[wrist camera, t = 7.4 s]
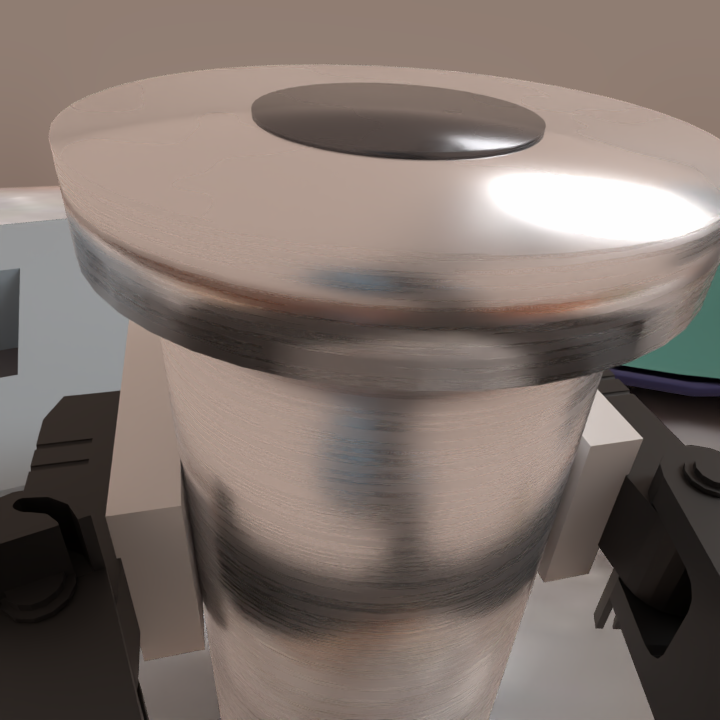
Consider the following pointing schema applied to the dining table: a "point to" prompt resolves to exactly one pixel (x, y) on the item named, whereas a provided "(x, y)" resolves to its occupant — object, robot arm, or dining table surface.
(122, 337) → the jig
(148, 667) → the dining table surface
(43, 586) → the robot arm
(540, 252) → the bushing
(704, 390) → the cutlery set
